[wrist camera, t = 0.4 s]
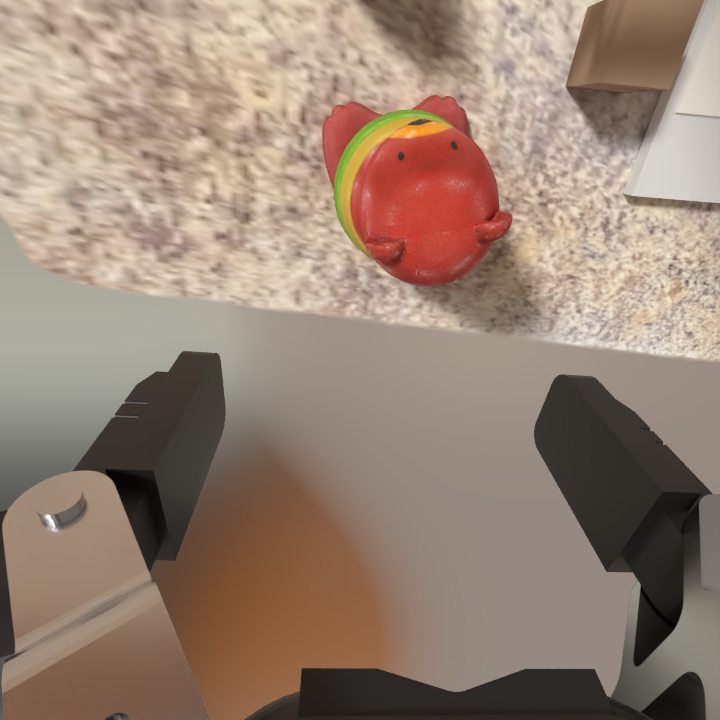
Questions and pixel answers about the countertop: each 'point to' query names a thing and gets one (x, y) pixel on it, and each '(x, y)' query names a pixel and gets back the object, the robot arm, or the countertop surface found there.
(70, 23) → the countertop surface
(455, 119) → the stacking bear
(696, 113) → the build board
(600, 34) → the walnut block
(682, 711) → the robot arm
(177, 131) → the countertop surface
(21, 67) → the countertop surface
